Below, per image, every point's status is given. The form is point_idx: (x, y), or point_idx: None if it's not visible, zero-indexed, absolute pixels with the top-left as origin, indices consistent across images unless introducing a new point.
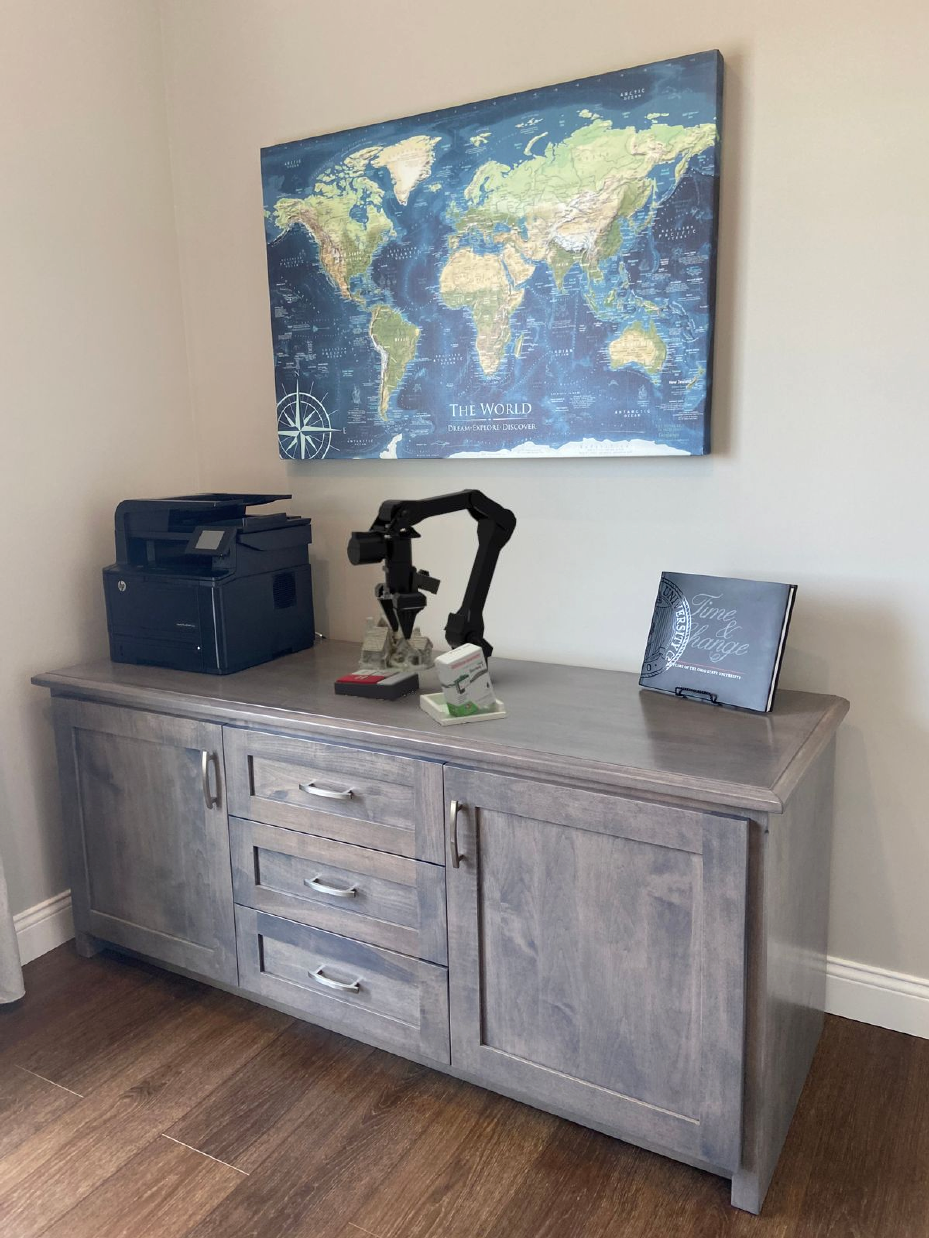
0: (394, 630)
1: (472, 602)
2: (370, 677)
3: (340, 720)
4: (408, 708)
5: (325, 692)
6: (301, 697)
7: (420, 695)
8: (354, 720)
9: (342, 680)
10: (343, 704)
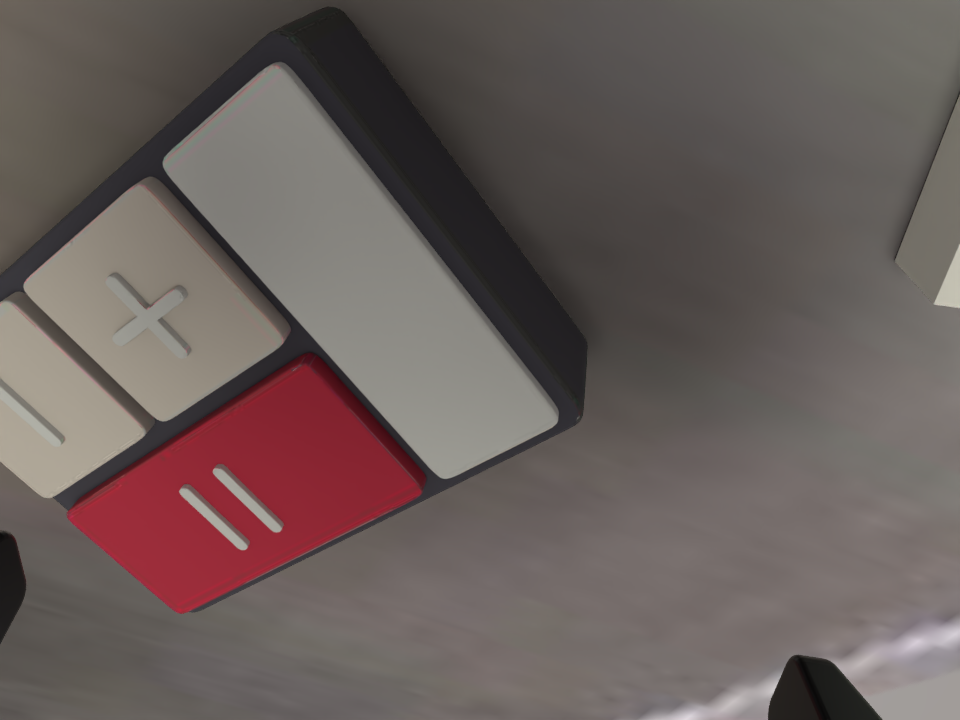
0: (12, 594)
1: None
2: (259, 459)
3: None
4: (847, 341)
5: None
6: (223, 691)
7: (943, 302)
8: None
9: (217, 597)
10: (478, 599)
